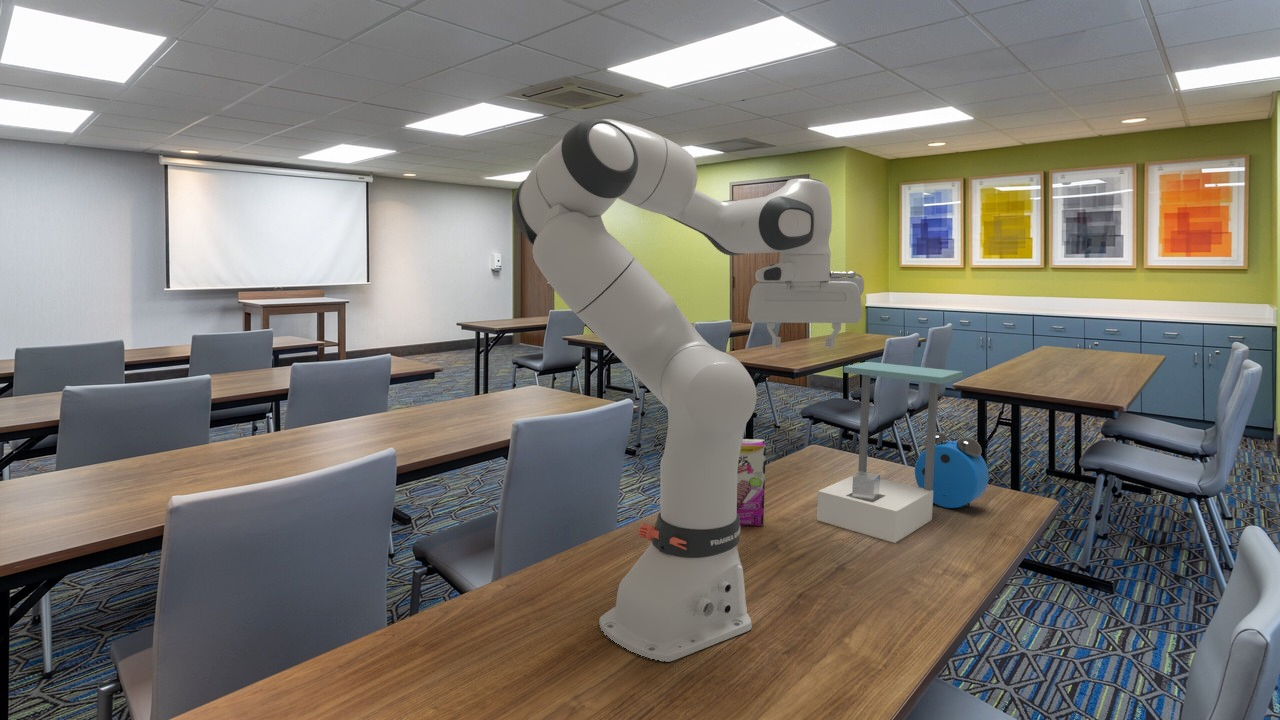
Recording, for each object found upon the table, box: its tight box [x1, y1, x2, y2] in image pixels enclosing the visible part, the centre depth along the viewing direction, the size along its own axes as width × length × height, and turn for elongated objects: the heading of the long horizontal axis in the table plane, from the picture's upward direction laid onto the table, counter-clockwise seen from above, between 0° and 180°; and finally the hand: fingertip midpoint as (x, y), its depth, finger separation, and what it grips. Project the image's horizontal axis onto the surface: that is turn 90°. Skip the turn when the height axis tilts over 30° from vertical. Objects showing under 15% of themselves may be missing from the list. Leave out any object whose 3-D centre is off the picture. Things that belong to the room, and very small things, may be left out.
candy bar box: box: [737, 438, 767, 527], centre depth 134 cm, size 11×5×16 cm, turn 84°
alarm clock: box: [914, 431, 990, 509], centre depth 142 cm, size 13×6×15 cm, turn 41°
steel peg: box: [852, 471, 881, 503], centre depth 131 cm, size 4×4×9 cm
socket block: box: [816, 361, 964, 544], centre depth 135 cm, size 22×20×29 cm
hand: (802, 347), depth 125 cm, fingers open, 8 cm apart
